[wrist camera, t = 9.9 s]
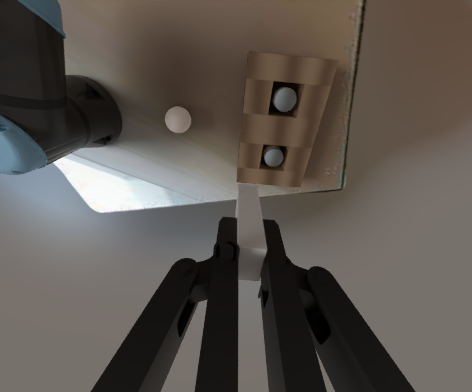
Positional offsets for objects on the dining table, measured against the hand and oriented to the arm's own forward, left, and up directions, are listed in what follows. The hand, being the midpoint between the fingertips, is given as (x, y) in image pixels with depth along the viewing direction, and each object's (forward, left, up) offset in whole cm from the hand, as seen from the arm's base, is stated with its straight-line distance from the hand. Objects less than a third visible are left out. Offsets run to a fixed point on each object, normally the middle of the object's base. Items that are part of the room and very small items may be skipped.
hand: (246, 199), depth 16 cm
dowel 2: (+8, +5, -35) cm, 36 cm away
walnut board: (+8, -1, -34) cm, 35 cm away
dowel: (+8, -7, -35) cm, 36 cm away
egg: (-14, -1, -35) cm, 37 cm away
